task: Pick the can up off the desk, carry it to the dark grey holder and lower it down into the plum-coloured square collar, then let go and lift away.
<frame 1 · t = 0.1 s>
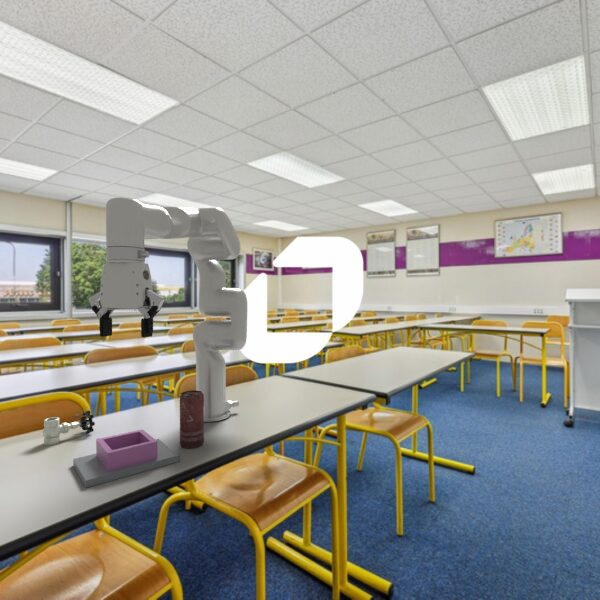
hand: (126, 336, 83), 31 cm above the table, tool pointing down, fingers open, 9 cm apart
can: (192, 445, 104), on the table
cup holder: (126, 463, 92), on the table
valve: (67, 439, 108), on the table
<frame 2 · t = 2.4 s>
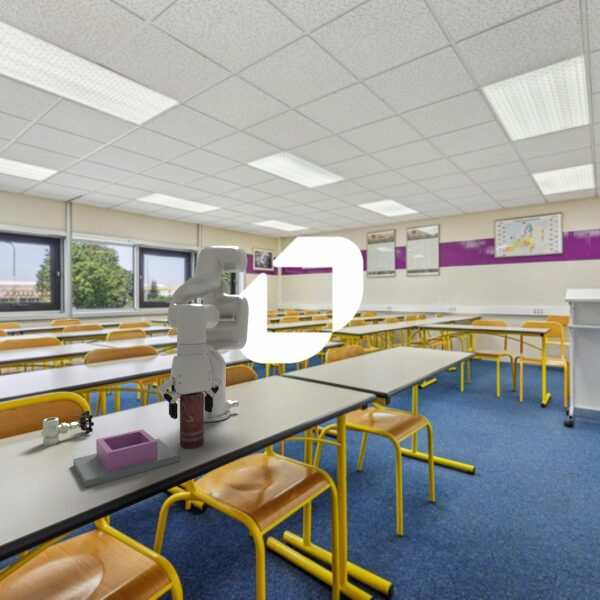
hand: (191, 414, 103), 8 cm above the table, tool pointing down, fingers open, 9 cm apart
nothing on the table moved.
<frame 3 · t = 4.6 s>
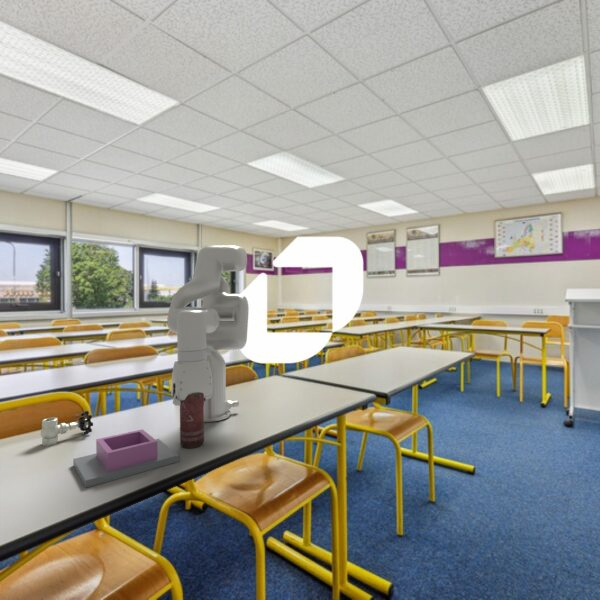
hand: (193, 423, 104), 5 cm above the table, tool pointing down, fingers closed
can: (192, 444, 104), on the table, touching gripper
everything else where it was.
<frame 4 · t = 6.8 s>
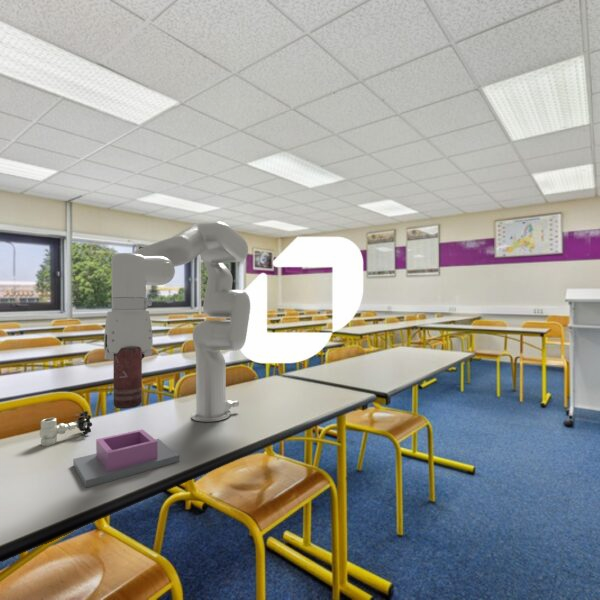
hand: (129, 381, 92), 19 cm above the table, tool pointing down, fingers closed
can: (128, 406, 92), point 14 cm above the table, touching gripper
everything else where it was.
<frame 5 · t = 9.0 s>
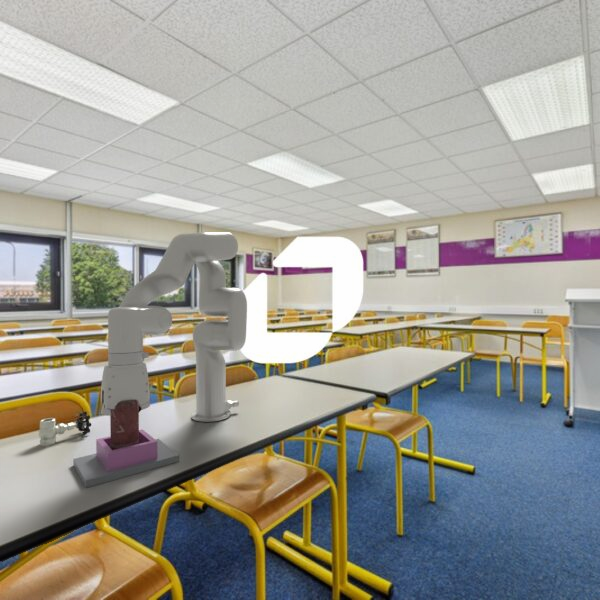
hand: (126, 435, 92), 7 cm above the table, tool pointing down, fingers closed
can: (125, 458, 91), point 1 cm above the table, touching cup holder
everything else where it was.
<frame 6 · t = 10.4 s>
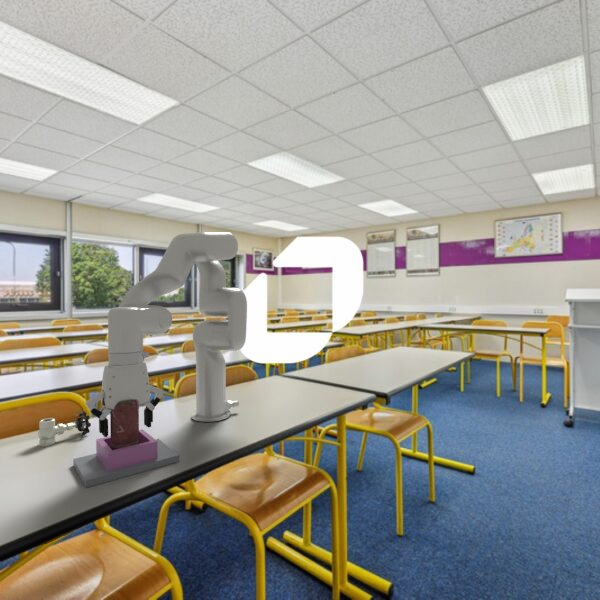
hand: (127, 430, 92), 8 cm above the table, tool pointing down, fingers open, 9 cm apart
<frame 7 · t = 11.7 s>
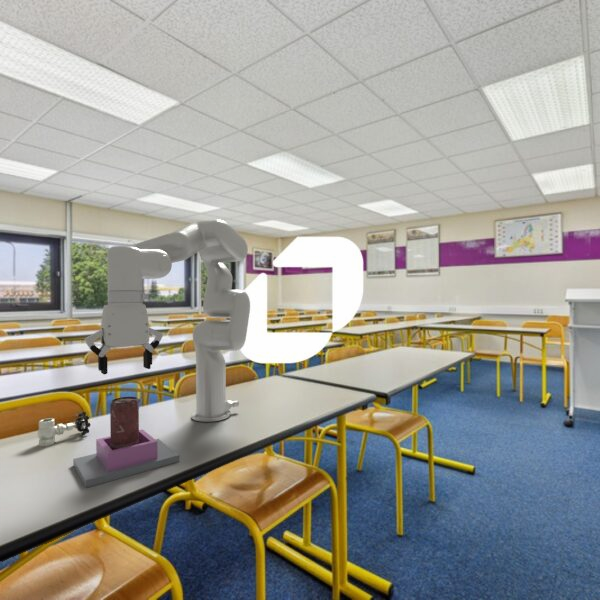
hand: (126, 370, 92), 22 cm above the table, tool pointing down, fingers open, 9 cm apart
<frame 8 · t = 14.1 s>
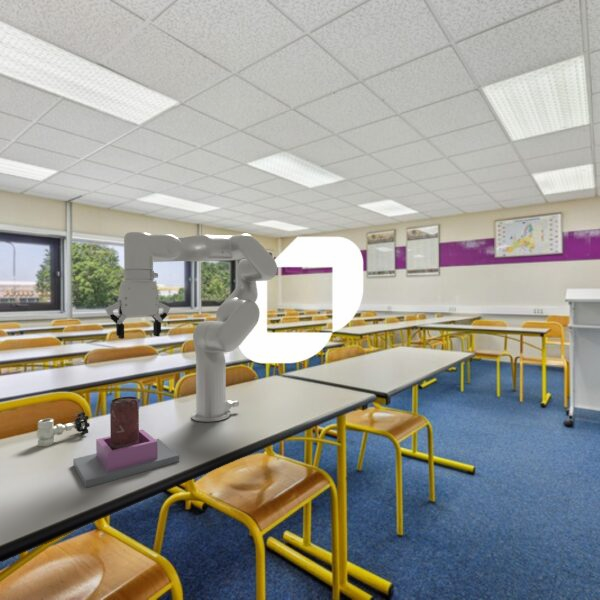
hand: (139, 337, 109), 28 cm above the table, tool pointing down, fingers open, 9 cm apart
at the end: can 0.6 cm off-centre on the cup holder, point 1.3 cm above the cup holder's base; can tilted 0°; the gripper is holding nothing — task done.
